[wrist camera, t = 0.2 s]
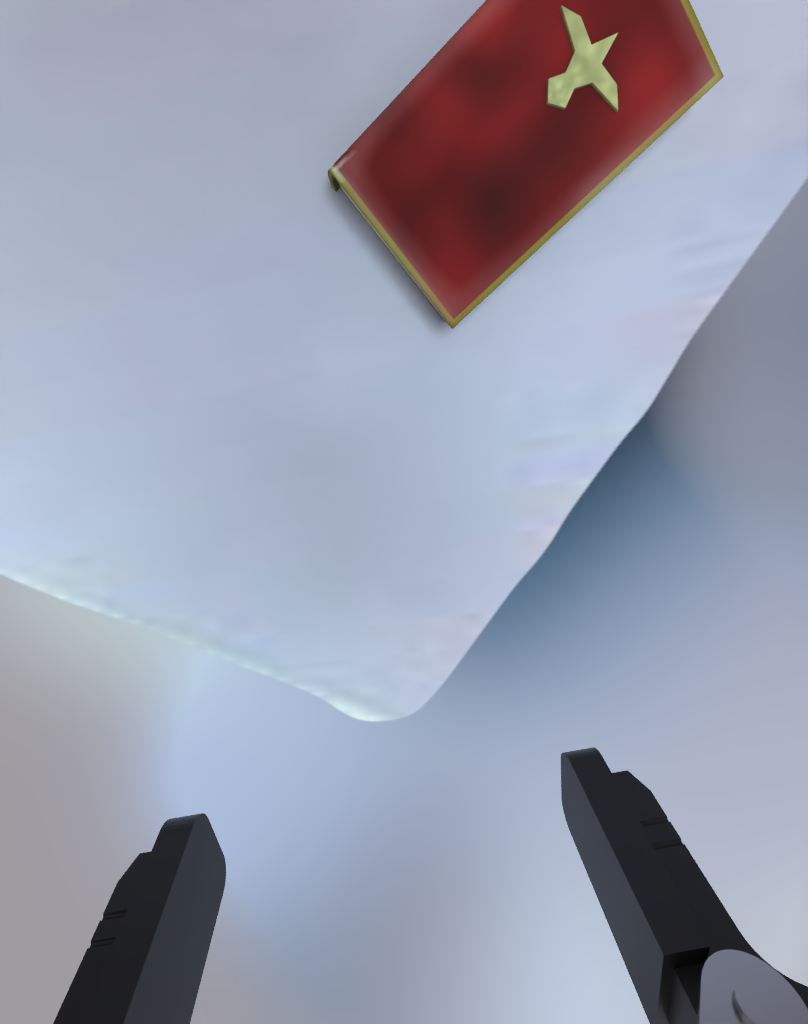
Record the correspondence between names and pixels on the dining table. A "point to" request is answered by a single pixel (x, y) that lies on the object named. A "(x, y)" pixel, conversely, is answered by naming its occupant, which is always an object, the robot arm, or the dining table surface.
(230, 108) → the dining table surface
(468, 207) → the hardcover book
